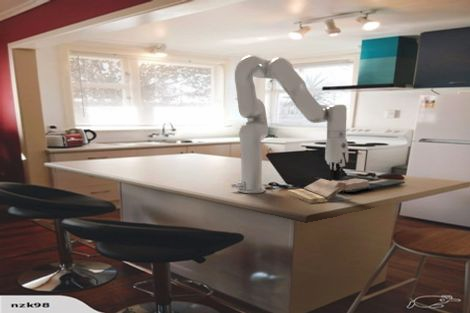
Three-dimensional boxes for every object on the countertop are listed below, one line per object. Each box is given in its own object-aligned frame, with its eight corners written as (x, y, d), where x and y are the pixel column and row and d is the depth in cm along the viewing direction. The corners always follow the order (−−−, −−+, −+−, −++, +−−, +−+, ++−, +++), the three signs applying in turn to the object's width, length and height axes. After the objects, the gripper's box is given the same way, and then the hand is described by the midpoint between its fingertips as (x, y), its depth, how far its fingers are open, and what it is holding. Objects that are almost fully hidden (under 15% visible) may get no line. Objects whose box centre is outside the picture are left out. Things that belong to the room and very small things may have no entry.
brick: (354, 186, 171) (354, 177, 170) (370, 189, 164) (370, 179, 163) (332, 191, 161) (333, 181, 160) (348, 194, 154) (348, 184, 154)
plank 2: (328, 200, 140) (326, 196, 140) (315, 195, 148) (314, 192, 148) (346, 186, 143) (345, 183, 142) (333, 183, 151) (332, 179, 150)
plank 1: (315, 195, 149) (314, 191, 148) (304, 191, 157) (303, 188, 156) (333, 184, 152) (332, 181, 151) (322, 181, 160) (321, 178, 159)
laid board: (309, 203, 137) (310, 198, 137) (287, 194, 154) (287, 189, 154) (327, 201, 140) (327, 197, 140) (303, 192, 157) (303, 188, 157)
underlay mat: (309, 203, 137) (309, 203, 137) (287, 194, 154) (287, 193, 154) (350, 199, 144) (350, 198, 144) (325, 190, 161) (325, 190, 161)
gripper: (356, 135, 138) (354, 181, 140) (332, 134, 152) (331, 176, 154) (340, 136, 135) (338, 183, 137) (318, 134, 149) (317, 177, 151)
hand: (335, 179), depth 145 cm, fingers closed
